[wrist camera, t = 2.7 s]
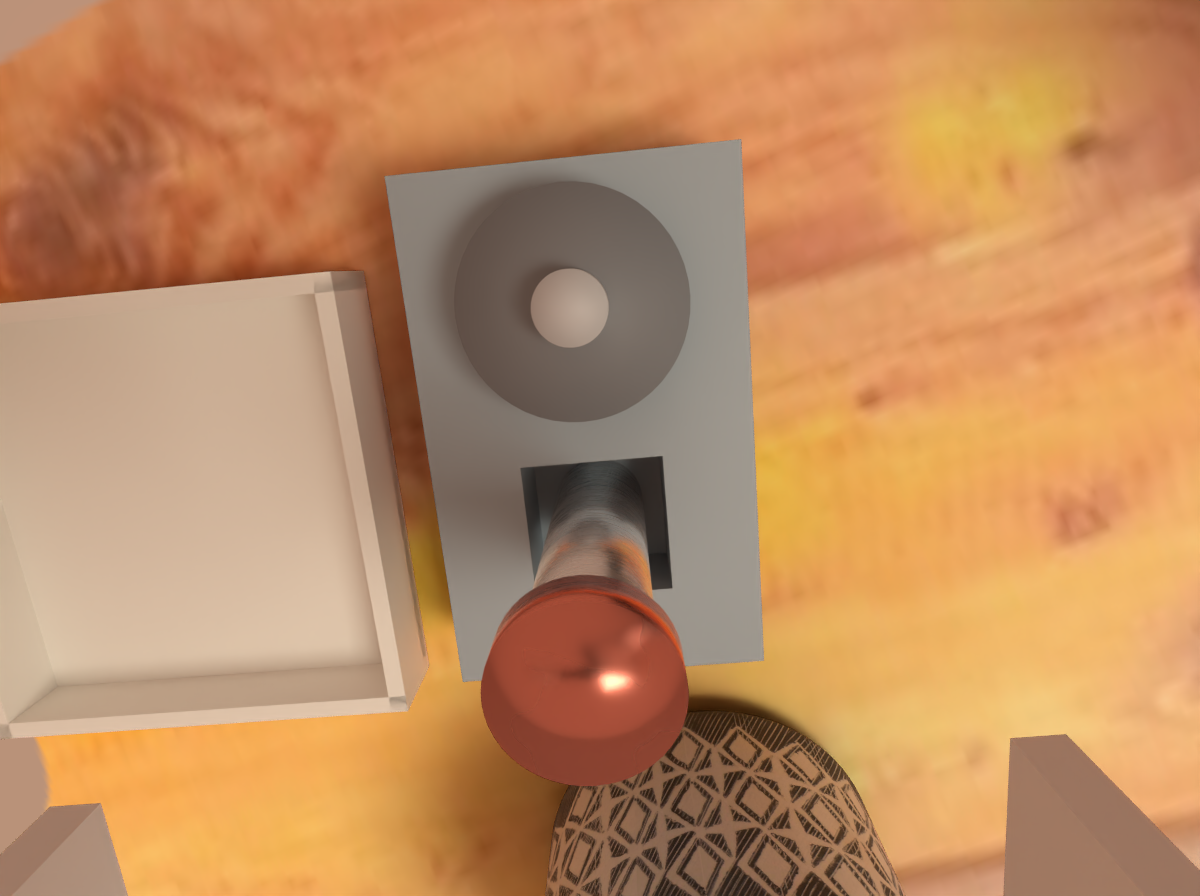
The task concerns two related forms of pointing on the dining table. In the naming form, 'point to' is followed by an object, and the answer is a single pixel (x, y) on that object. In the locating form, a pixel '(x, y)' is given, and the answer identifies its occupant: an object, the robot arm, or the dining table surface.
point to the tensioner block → (587, 373)
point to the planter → (722, 822)
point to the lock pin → (588, 644)
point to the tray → (200, 510)
